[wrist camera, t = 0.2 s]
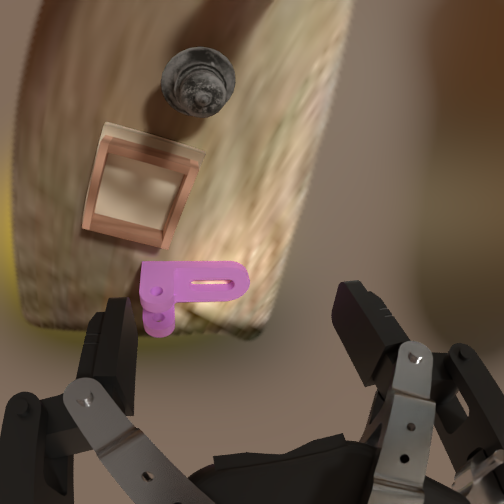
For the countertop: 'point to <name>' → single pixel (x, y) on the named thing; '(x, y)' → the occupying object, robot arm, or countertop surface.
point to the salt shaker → (198, 81)
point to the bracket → (185, 288)
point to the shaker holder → (139, 185)
